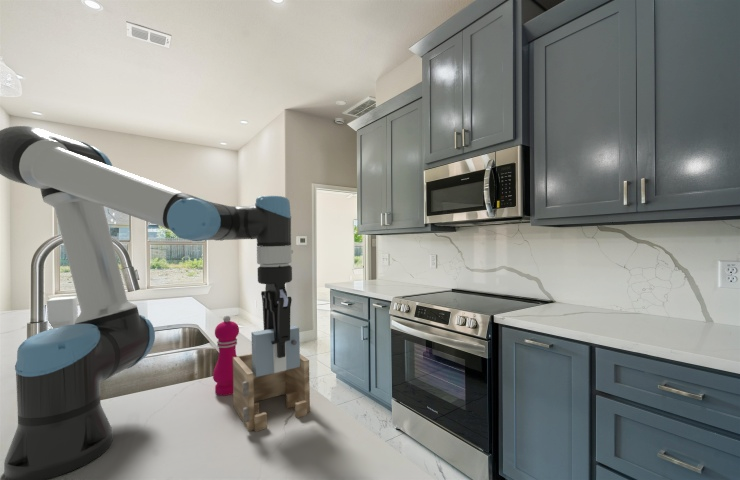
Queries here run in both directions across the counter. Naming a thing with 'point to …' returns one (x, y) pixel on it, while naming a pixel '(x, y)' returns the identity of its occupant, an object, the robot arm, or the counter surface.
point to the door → (264, 351)
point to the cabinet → (268, 390)
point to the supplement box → (62, 311)
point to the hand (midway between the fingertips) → (277, 368)
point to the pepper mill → (225, 356)
